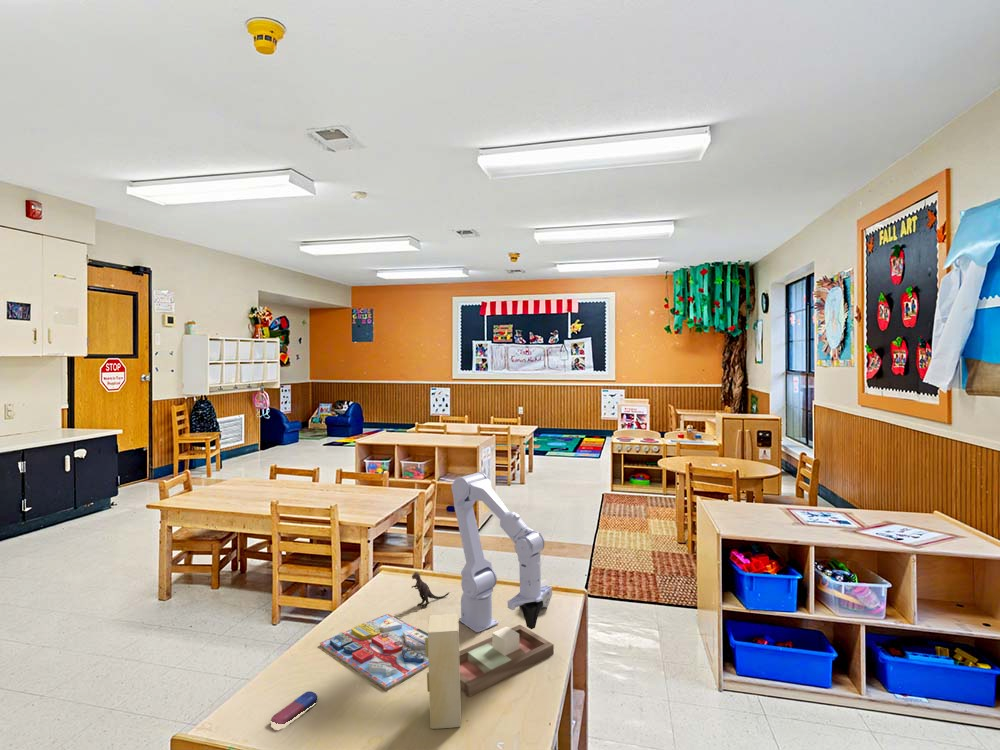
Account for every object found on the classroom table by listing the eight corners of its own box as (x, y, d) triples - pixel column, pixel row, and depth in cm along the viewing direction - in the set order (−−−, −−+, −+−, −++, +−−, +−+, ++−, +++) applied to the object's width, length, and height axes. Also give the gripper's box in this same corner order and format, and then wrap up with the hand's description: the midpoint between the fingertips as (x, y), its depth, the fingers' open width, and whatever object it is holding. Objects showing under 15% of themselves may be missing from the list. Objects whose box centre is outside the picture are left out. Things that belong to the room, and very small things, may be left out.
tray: (437, 670, 133) (437, 660, 133) (520, 633, 150) (519, 624, 150) (469, 697, 123) (468, 686, 123) (553, 653, 140) (553, 644, 140)
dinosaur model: (409, 572, 166) (446, 561, 176) (407, 607, 166) (443, 595, 176) (417, 576, 163) (453, 565, 173) (414, 612, 163) (451, 599, 173)
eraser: (278, 734, 112) (278, 726, 112) (266, 727, 114) (266, 719, 114) (320, 702, 122) (320, 694, 122) (308, 696, 124) (308, 689, 124)
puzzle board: (456, 652, 142) (456, 642, 142) (386, 694, 125) (386, 683, 125) (387, 616, 163) (387, 607, 162) (319, 647, 145) (319, 638, 145)
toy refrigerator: (428, 705, 120) (426, 614, 119) (460, 703, 121) (459, 612, 120) (426, 730, 112) (424, 633, 111) (461, 727, 113) (459, 631, 112)
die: (544, 617, 161) (559, 587, 164) (519, 601, 162) (535, 572, 165) (542, 614, 169) (556, 586, 171) (518, 599, 170) (533, 571, 173)
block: (492, 647, 139) (492, 632, 139) (507, 640, 142) (507, 626, 142) (504, 655, 135) (504, 640, 135) (519, 648, 138) (519, 633, 138)
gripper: (519, 590, 135) (520, 642, 136) (559, 575, 145) (560, 623, 145) (502, 581, 141) (503, 631, 141) (541, 567, 150) (542, 614, 151)
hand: (530, 627), depth 144 cm, fingers closed
